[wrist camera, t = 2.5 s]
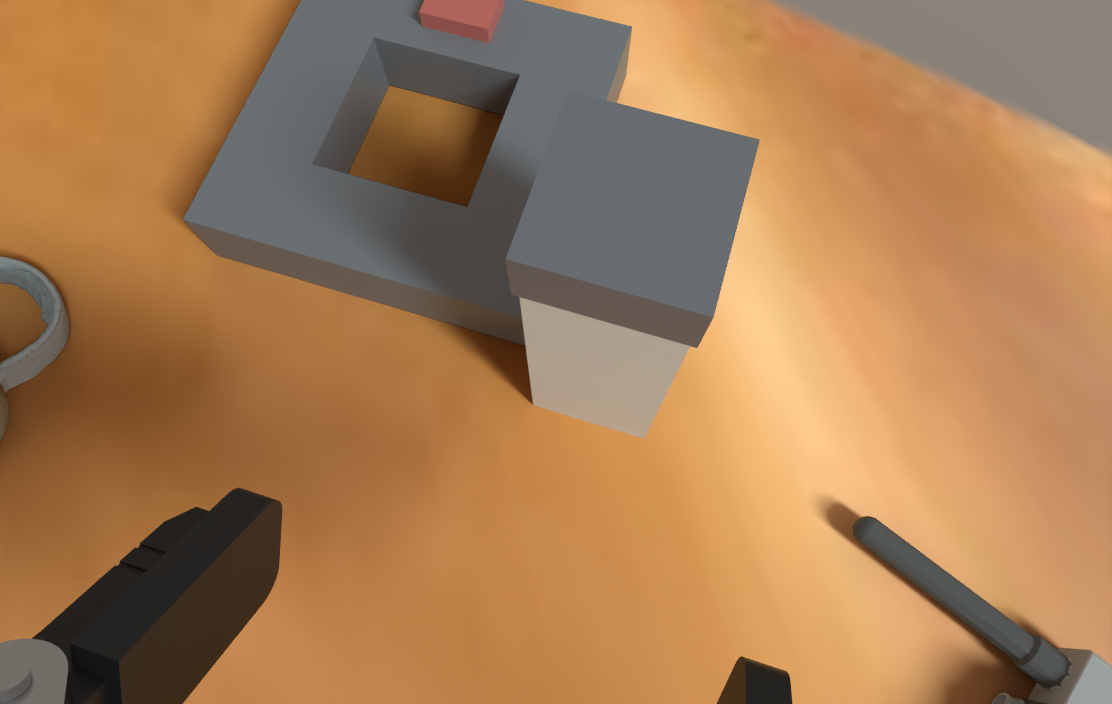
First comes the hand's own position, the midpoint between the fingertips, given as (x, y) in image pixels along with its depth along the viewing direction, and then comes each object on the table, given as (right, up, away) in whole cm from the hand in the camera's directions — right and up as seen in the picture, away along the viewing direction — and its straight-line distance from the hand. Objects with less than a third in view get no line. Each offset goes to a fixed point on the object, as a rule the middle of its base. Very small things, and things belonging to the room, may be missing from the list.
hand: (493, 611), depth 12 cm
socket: (-5, +13, +20) cm, 24 cm away
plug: (+3, +4, +17) cm, 18 cm away
